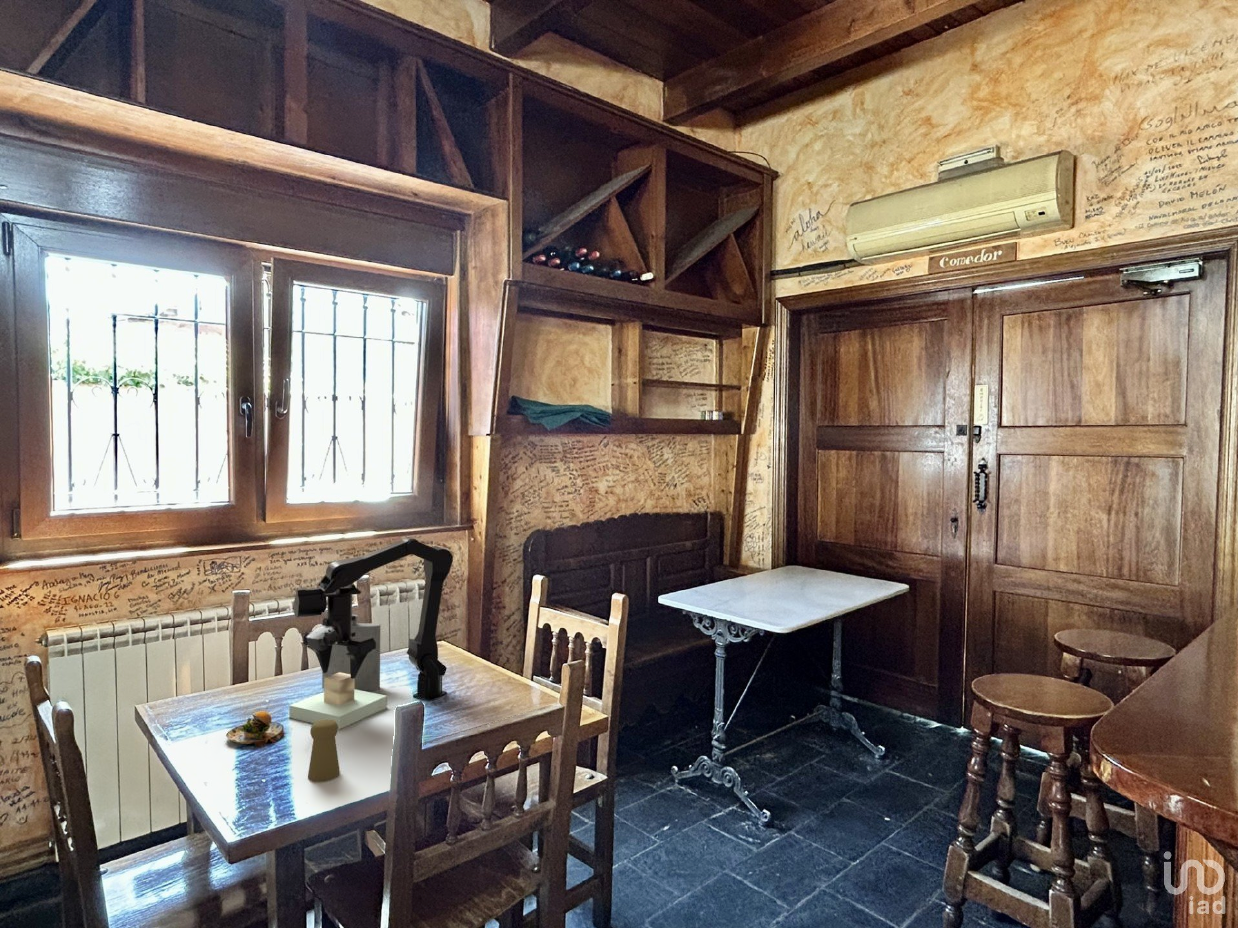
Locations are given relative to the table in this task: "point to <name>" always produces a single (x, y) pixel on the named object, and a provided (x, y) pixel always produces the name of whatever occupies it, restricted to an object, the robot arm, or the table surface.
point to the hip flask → (371, 665)
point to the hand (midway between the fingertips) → (338, 675)
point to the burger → (257, 730)
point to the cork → (324, 751)
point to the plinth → (338, 708)
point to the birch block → (338, 688)
